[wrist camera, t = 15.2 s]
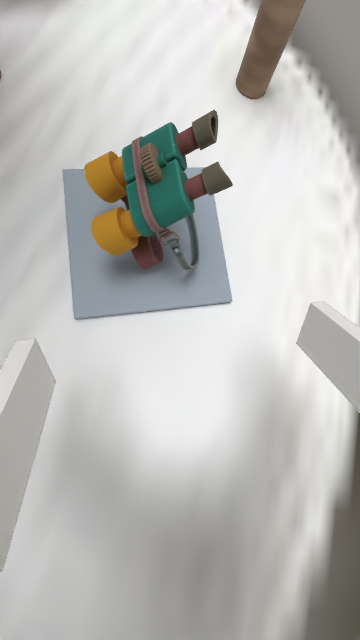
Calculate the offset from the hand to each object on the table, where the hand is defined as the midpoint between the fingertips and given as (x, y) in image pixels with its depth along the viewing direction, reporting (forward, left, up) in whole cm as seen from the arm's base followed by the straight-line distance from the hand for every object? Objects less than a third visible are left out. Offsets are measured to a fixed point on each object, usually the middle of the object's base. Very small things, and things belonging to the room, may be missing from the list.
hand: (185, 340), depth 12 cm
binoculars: (-10, +3, -9) cm, 14 cm away
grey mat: (-10, +3, -10) cm, 14 cm away
